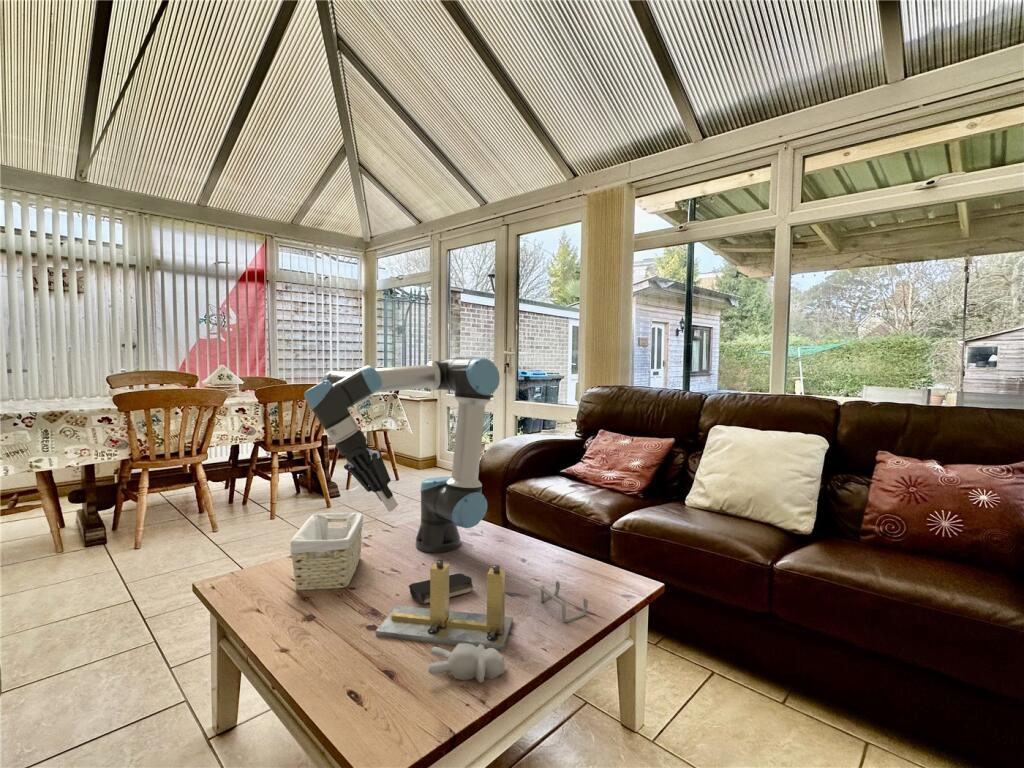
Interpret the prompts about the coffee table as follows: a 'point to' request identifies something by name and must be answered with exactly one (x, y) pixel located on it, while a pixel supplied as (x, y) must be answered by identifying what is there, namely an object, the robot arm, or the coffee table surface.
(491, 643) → the steel plate
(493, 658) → the bunny figurine
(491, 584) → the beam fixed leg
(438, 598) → the sliding leg
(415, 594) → the black sponge
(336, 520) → the storage basket
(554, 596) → the bracket
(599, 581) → the coffee table surface
